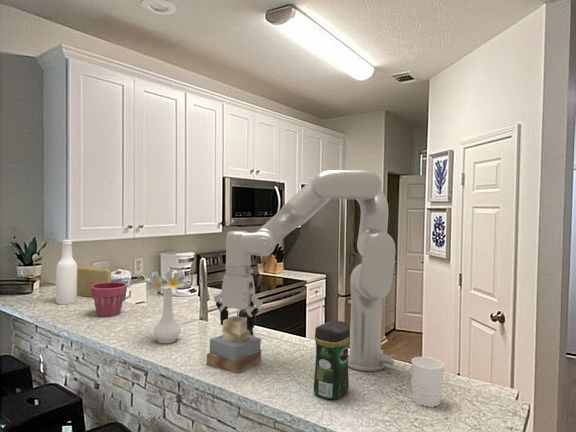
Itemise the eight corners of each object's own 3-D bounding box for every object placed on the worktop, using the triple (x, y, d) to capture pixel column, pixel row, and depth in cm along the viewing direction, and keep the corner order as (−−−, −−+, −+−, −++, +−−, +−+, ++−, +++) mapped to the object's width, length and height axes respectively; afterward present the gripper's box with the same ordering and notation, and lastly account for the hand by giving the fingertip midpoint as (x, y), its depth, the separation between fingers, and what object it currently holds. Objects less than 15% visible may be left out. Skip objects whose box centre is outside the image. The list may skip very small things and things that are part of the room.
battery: (242, 343, 145) (243, 311, 145) (235, 340, 147) (236, 309, 147) (257, 338, 150) (257, 307, 150) (249, 336, 153) (250, 306, 152)
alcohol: (51, 303, 193) (52, 240, 192) (67, 299, 201) (68, 238, 200) (64, 305, 190) (65, 241, 189) (80, 302, 198) (81, 240, 197)
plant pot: (114, 319, 169) (114, 289, 169) (83, 317, 172) (83, 287, 171) (132, 311, 184) (133, 282, 183) (103, 309, 186) (104, 281, 185)
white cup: (435, 394, 109) (436, 356, 109) (447, 408, 101) (449, 368, 101) (406, 393, 109) (407, 356, 108) (416, 408, 101) (417, 368, 100)
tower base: (260, 361, 129) (261, 349, 129) (239, 375, 119) (239, 361, 119) (229, 354, 135) (229, 342, 135) (206, 366, 124) (206, 353, 124)
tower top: (260, 351, 128) (260, 338, 127) (234, 361, 119) (235, 347, 119) (235, 343, 134) (235, 331, 134) (209, 351, 126) (209, 339, 126)
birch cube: (249, 337, 128) (249, 318, 128) (239, 343, 123) (240, 323, 123) (233, 334, 131) (233, 315, 130) (222, 339, 125) (223, 320, 125)
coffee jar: (327, 382, 114) (329, 316, 114) (352, 390, 110) (354, 321, 109) (308, 394, 107) (310, 323, 106) (334, 403, 102) (336, 329, 102)
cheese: (118, 298, 207) (119, 269, 206) (100, 302, 199) (101, 271, 198) (93, 292, 219) (94, 264, 219) (75, 295, 211) (76, 266, 211)
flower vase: (161, 331, 156) (162, 265, 155) (197, 340, 146) (198, 270, 146) (132, 340, 145) (133, 269, 144) (169, 351, 135) (171, 275, 135)
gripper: (268, 272, 126) (267, 327, 126) (222, 267, 133) (221, 319, 134) (255, 275, 119) (254, 334, 119) (207, 270, 127) (207, 325, 127)
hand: (237, 326), depth 127 cm, fingers open, 9 cm apart
